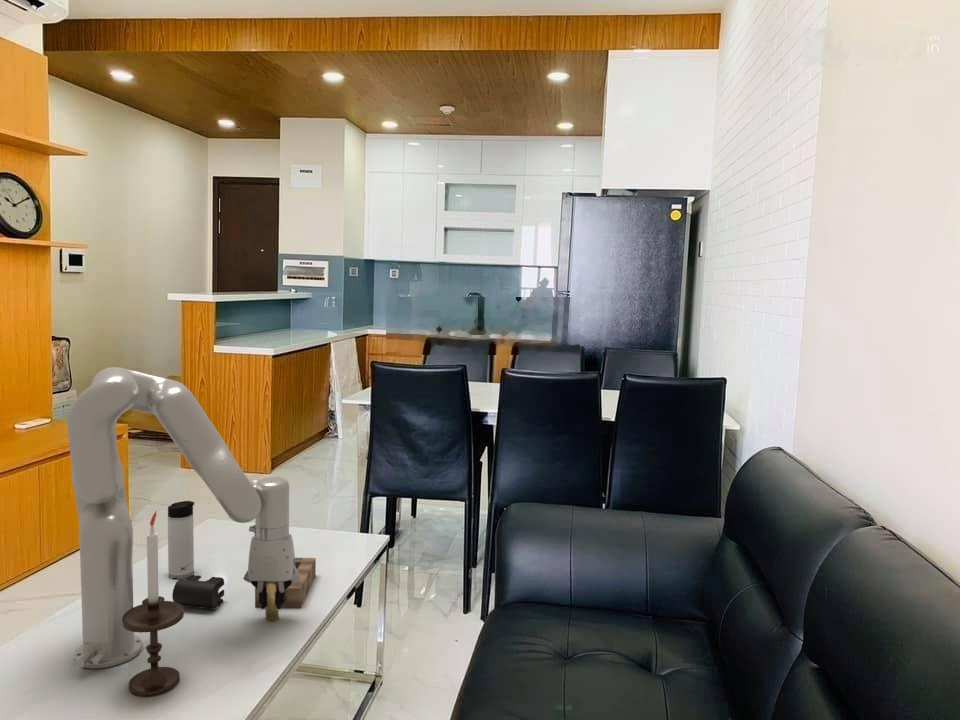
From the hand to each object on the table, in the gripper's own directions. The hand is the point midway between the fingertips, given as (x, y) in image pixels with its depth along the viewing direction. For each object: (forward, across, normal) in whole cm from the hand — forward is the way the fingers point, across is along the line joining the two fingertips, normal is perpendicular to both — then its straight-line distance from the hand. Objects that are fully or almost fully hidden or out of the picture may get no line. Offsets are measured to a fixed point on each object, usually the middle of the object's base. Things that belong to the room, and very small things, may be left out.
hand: (272, 605), depth 163 cm
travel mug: (+3, -30, +24) cm, 39 cm away
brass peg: (+3, 0, 0) cm, 3 cm away
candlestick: (+3, -16, -27) cm, 32 cm away
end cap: (+3, -19, +6) cm, 20 cm away
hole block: (+3, 0, +15) cm, 15 cm away
